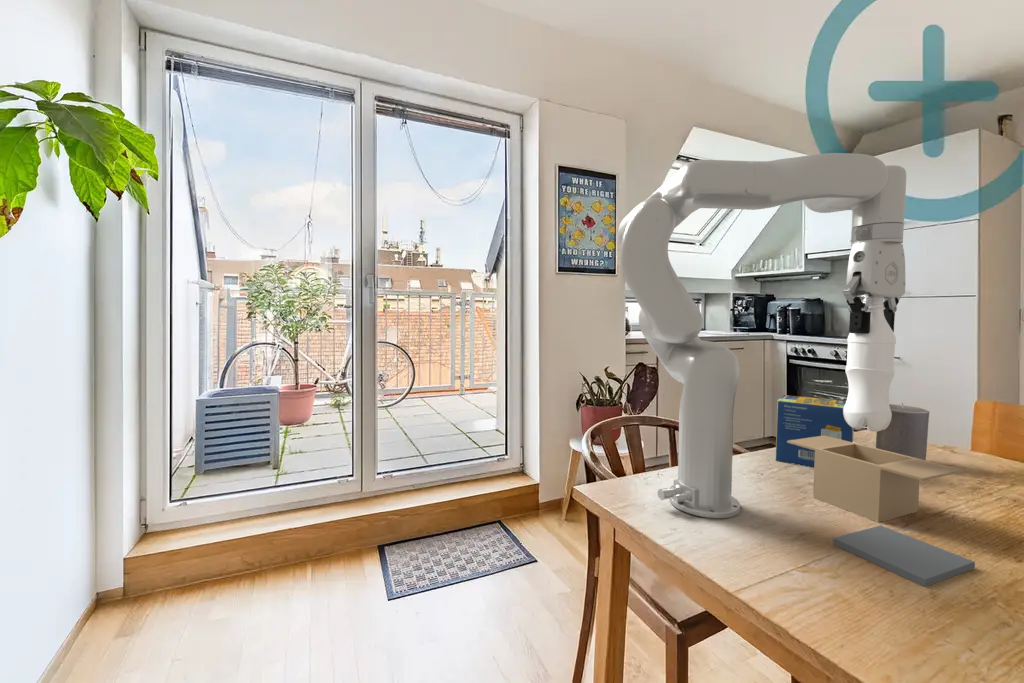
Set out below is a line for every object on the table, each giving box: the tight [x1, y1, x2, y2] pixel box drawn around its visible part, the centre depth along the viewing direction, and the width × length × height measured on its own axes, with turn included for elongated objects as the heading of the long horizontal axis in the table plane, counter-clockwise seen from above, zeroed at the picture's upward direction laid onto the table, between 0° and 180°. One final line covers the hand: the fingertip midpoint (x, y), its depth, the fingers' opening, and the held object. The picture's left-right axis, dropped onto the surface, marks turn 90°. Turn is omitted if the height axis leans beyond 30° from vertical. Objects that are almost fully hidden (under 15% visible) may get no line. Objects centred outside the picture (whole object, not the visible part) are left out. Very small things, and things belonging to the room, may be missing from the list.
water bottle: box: [843, 296, 897, 432], centre depth 84 cm, size 7×7×25 cm
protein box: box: [774, 394, 855, 468], centre depth 111 cm, size 10×15×16 cm
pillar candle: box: [875, 402, 930, 461], centre depth 111 cm, size 10×10×15 cm
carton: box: [787, 436, 964, 523], centre depth 86 cm, size 12×24×10 cm, turn 21°
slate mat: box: [832, 524, 976, 587], centre depth 68 cm, size 12×12×1 cm
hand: (871, 332), depth 84 cm, fingers closed on water bottle, 6 cm apart
